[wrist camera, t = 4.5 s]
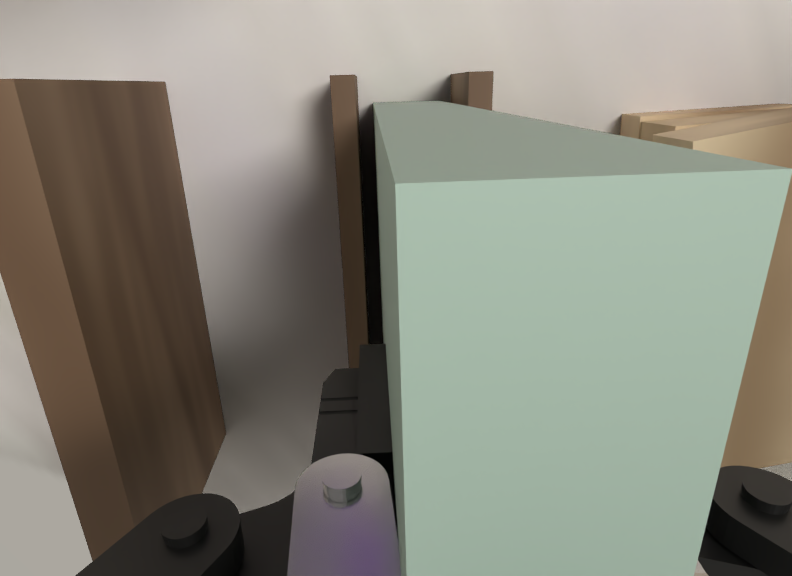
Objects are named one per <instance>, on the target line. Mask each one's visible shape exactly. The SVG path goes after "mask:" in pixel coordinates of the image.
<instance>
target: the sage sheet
mask: <svg viewBox="0 0 792 576" xmlns="http://www.w3.org/2000/svg"><path fill="white" fill-rule="evenodd" d="M373 115H374V138H375V162H376V186H377V209H378V233H379V257H380V281H381V304H382V328H383V344H386V359H387V374H388V389H389V405H390V420H391V435H392V450H393V476H394V502H395V524H396V530H397V537H398V544H399V554H400V569H401V576H694V573H695V569H696V565H697V560H698V556H699V552H700V548H701V544H702V540H703V536H704V532H705V528H706V524H707V519H708V515H709V511H710V507H711V503H712V499H713V495H714V491H715V487H716V483H717V478H718V474H719V470H720V466H721V462H722V458H723V454H724V450H725V446H726V442H727V437H728V433H729V429H730V425H731V421H732V417H733V413H734V409H735V405H736V401H737V396H738V392H739V388H740V384H741V380H742V376H743V372H744V368H745V364H746V360H747V355H748V351H749V347H750V343H751V339H752V335H753V331H754V327H755V323H756V319H757V314H758V310H759V306H760V302H761V298H762V294H763V290H764V286H765V282H766V278H767V273H768V269H769V265H770V261H771V257H772V253H773V249H774V245H775V241H776V237H777V232H778V228H779V224H780V220H781V216H782V212H783V208H784V204H785V200H786V195H787V191H788V187H789V183H790V179H791V175H792V169H791V168H786V167H781V166H776V165H771V164H766V163H760V162H755V161H750V160H745V159H740V158H734V157H729V156H724V155H719V154H714V153H709V152H703V151H698V150H693V149H688V148H683V147H677V146H672V145H667V144H662V143H657V142H651V141H646V140H641V139H636V138H631V137H626V136H620V135H615V134H610V133H605V132H600V131H594V130H589V129H584V128H579V127H574V126H569V125H563V124H558V123H553V122H548V121H543V120H537V119H532V118H527V117H522V116H517V115H512V114H506V113H501V112H496V111H491V110H486V109H480V108H475V107H470V106H465V105H460V104H454V103H449V102H444V101H411V102H380V103H373Z"/></svg>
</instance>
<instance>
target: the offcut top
mask: <svg viewBox="0 0 792 576" xmlns="http://www.w3.org/2000/svg"><path fill="white" fill-rule="evenodd" d="M653 142H657V143H662V144H667V145H672V146H677V147H683V148H688V149H693V150H698V151H703V152H709V153H714V154H719V155H724V156H729V157H734V158H740V159H745V160H750V161H755V162H760V163H766V164H771V165H776V166H781V167H786V168H791V169H792V107H790V108H785V109H780V110H775V111H770V112H765V113H760V114H755V115H750V116H745V117H740V118H735V119H730V120H725V121H720V122H715V123H710V124H705V125H700V126H695V127H690V128H685V129H679V130H674V131H669V132H664V133H659V134H654V135H653ZM790 462H792V175H791V179H790V183H789V187H788V191H787V195H786V200H785V204H784V208H783V212H782V216H781V220H780V224H779V228H778V232H777V237H776V241H775V245H774V249H773V253H772V257H771V261H770V265H769V269H768V273H767V278H766V282H765V286H764V290H763V294H762V298H761V302H760V306H759V310H758V314H757V319H756V323H755V327H754V331H753V335H752V339H751V343H750V347H749V351H748V355H747V360H746V364H745V368H744V372H743V376H742V380H741V384H740V388H739V392H738V396H737V401H736V405H735V409H734V413H733V417H732V421H731V425H730V429H729V433H728V437H727V442H726V446H725V450H724V454H723V458H722V462H721V466H720V468H721V467H724V466H749V467H754V468H763V467H769V466H774V465H779V464H785V463H790Z"/></svg>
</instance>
